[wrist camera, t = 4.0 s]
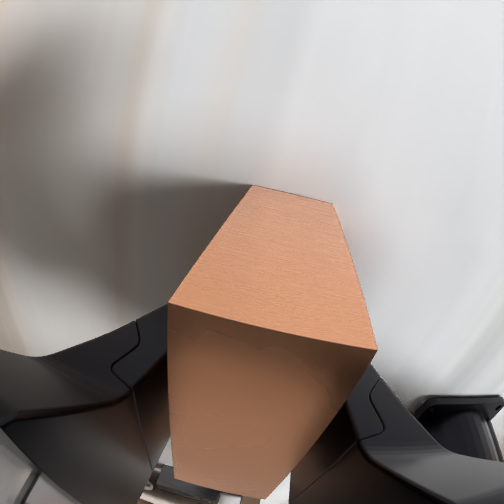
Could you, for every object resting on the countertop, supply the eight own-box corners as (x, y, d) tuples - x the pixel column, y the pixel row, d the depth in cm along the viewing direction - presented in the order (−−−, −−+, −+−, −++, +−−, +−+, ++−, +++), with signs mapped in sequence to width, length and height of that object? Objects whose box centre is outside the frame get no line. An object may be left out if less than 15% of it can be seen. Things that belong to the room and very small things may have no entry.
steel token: (152, 477, 22) (150, 483, 21) (156, 488, 24) (154, 493, 23) (114, 461, 22) (111, 467, 22) (121, 474, 24) (118, 479, 24)
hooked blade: (333, 204, 8) (377, 349, 3) (228, 488, 19) (213, 545, 14) (153, 166, 9) (-3, 240, 3) (164, 470, 19) (143, 525, 14)
